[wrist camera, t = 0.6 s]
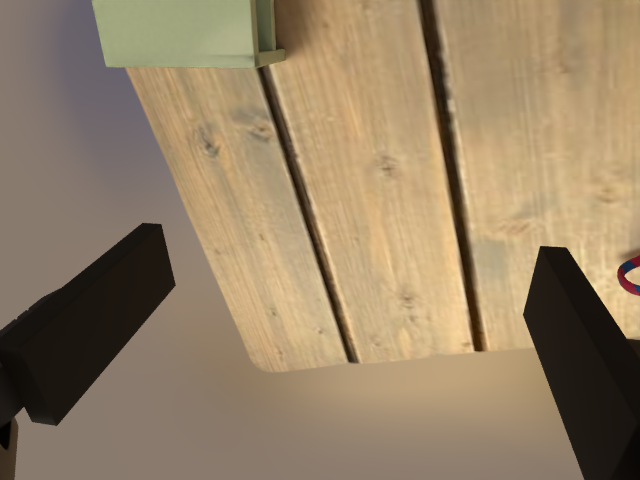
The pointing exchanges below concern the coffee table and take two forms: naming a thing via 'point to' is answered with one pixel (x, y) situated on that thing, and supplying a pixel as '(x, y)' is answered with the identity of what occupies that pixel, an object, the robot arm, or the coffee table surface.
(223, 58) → the shelf
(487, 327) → the coffee table surface
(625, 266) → the cup
